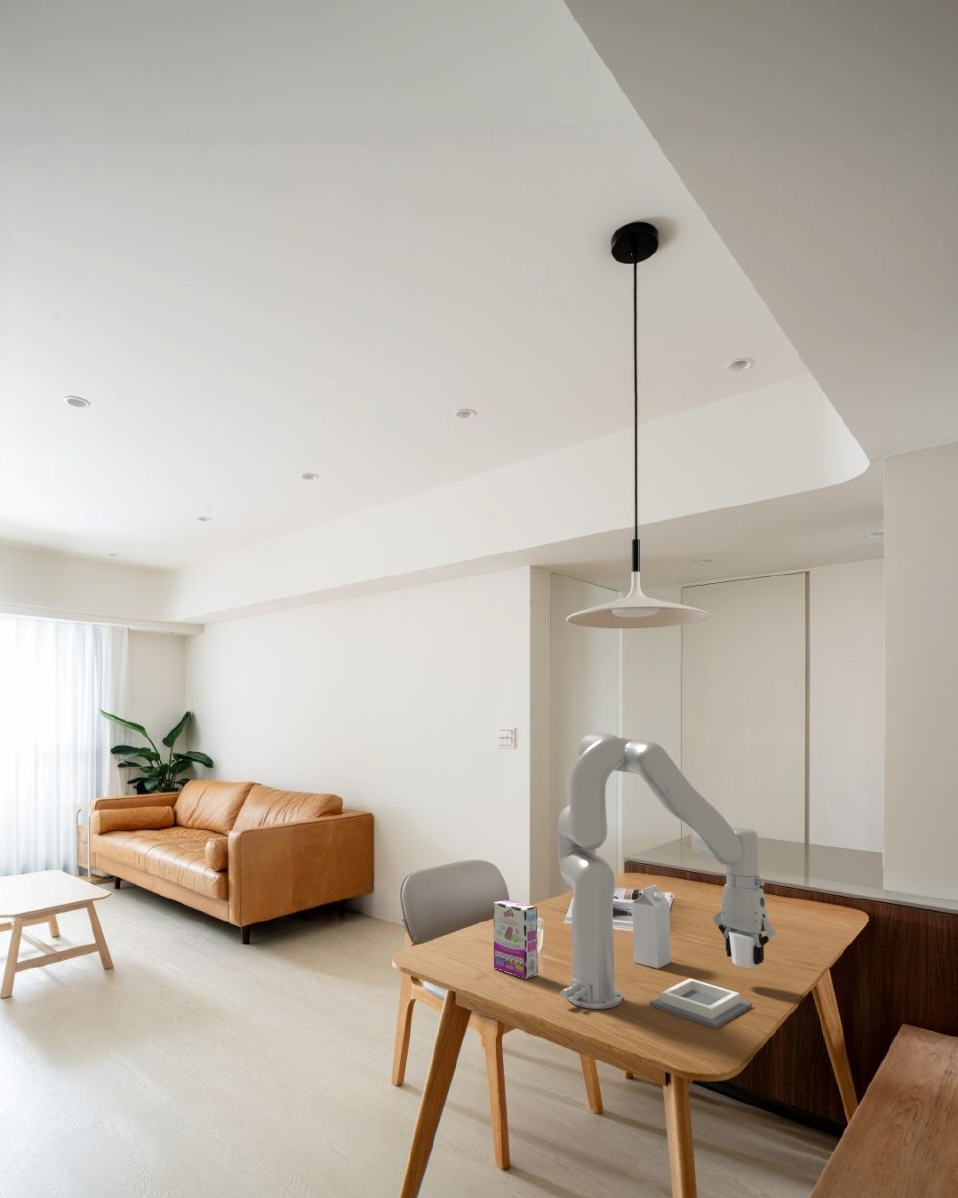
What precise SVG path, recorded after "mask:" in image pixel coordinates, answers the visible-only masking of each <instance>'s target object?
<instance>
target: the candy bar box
mask: <svg viewBox="0 0 958 1198" xmlns="http://www.w3.org/2000/svg"><path fill="white" fill-rule="evenodd" d="M538 957H539V956H538V906H536V905H533V904H532V905H531V904H527V903H523V902H519V901H513V900H509V899H502V900H498V901H494V902H493V969H494V968H497V969H501V970H503V971H506V972H509V973H512V974H515V975H517V976H520V977H523V978H529V977H531V976H534V975H536V974H539V967H538V964H539V963H538V961H539V960H538V959H539V958H538ZM517 976H516V977H517ZM536 976H537V975H536ZM520 977H519V978H520ZM534 977H535V976H534ZM523 978H522V979H523ZM531 978H532V977H531ZM529 979H530V978H529Z"/></svg>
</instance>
